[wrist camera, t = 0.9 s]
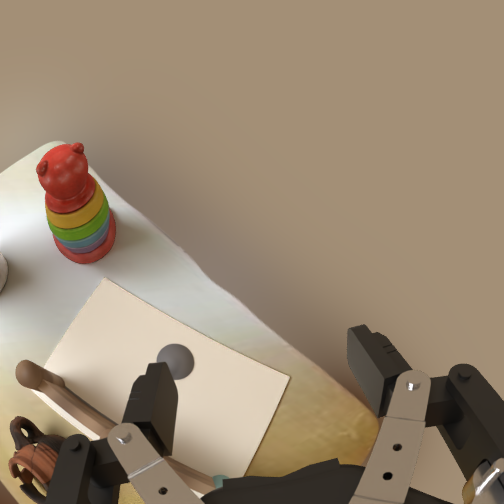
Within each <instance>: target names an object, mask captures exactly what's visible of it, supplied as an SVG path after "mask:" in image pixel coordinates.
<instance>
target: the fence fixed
mask: <svg viewBox="0 0 504 504" xmlns="http://www.w3.org/2000/svg"><path fill="white" fill-rule="evenodd" d="M16 378H17V380H18V382H19V383H20V384H21V385H22V386H24V387H27V388H30V389H33V390H36V391H39V392H42V393H44V394H45V395H47V396H48V397H49V398H50V399H51V400H52V401H54V402H55V403H56V404H57V405H58V406H60V407H61V408H62V409H63V410H65V411H66V412H67V413H68V414H70V415H71V416H72V417H73V418H75V419H76V420H77V421H79V422H80V423H81V424H83V425H84V426H85V427H87V428H88V429H90V430H91V431H92V432H94V433H95V434H97V435H98V436H100V439H103V438H106V437H108V434H109V432H110V431H111V430H112V428H114V427H115V426H116V425H115V424H113V423H112V422H110V421H109V420H107V419H106V418H104V417H103V416H101V415H100V414H98V413H97V412H96V411H94V410H93V409H91V408H90V407H89V406H87V405H86V404H85V403H83V402H82V401H81V400H79V399H78V398H77V397H75V396H74V395H73V394H72V393H70V392H69V391H68V390H66V389H65V382H64V380H63V379H62V378H61V377H60V376H58V375H56V374H54V373H52V372H50V371H48V370H46V369H44V368H42V367H40V366H38V365H36V364H35V363H33V362H31V361H29V360H23V361H21V362H20V363H19V364H18V365H17V367H16Z"/></svg>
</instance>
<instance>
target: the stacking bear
mask: <svg viewBox="0 0 504 504" xmlns="http://www.w3.org/2000/svg"><path fill="white" fill-rule="evenodd" d="M83 151H84V146H83V144H81V143H74V144H73V145H70V144H63V145H59V146H57V147H54V148H53V149H51V150H50V151H48V152H47V153H46V154H45V155H44V156H43V158H42V159H41V161H40V163H39V164H38V165H37V168H36V172H37V174H38V178H39V181H40V184H41V185H42V187H43V188H44V190H45V191H46V194H45V208H46V214H47V220H48V224H49V227H50V229H51V231H52V233H53V238H54V241H55V244H56V246H57V247H58V249H59V250H60V252H61V253H62V254H63V255H64V256H66V257H67V258H68V259H70V260H72V261H74V262H77V263H91V262H94V261H97V260H99V259H100V258H102V257H103V256H104V255H106V254H107V253H108V251H109V250H110V249H111V247H112V245H113V243H114V239H115V233H116V226H115V220H114V217H113V214H112V212H111V210H110V208H109V205H108V201H107V198H106V196H105V194H104V192H103V190H102V189H101V187H100V185H99V184H98V182H97V181H96V180H95V179H94V178H93V177H92V176H91V175H90V174H89V173H88V163H87V159H86V156H85V155H84V153H83Z"/></svg>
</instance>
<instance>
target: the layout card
mask: <svg viewBox="0 0 504 504" xmlns="http://www.w3.org/2000/svg"><path fill="white" fill-rule="evenodd" d="M157 362H166V363H167V365H168V367H169V370H170V372H171V375H172V377H173V379H174V382H175V384H176V387H177V390H178V406H177V414H176V423H175V432H174V441H173V450H172V456H168V457H170V458H172V459H174V460H176V461H178V462H180V463H182V464H184V465H186V466H188V467H190V468H192V469H195V470H197V471H199V472H201V473H203V474H206V475H208V476H210V477H213V476H216V475H225V476H227V477H229V478H239V477H243V475H244V474H245V472H246V470H247V468H248V466H249V464H250V462H251V460H252V458H253V456H254V454H255V452H256V450H257V448H258V446H259V444H260V442H261V440H262V438H263V436H264V433H265V431H266V429H267V427H268V425H269V423H270V421H271V419H272V416H273V414H274V412H275V410H276V408H277V405H278V403H279V401H280V399H281V396H282V394H283V392H284V390H285V387H286V385H287V383H288V380H289V378H290V377H289V376H287V375H285V374H283V373H280V372H278V371H276V370H274V369H272V368H269V367H267V366H265V365H263V364H261V363H259V362H257V361H254V360H252V359H250V358H248V357H246V356H244V355H242V354H240V353H238V352H236V351H234V350H232V349H230V348H228V347H226V346H224V345H222V344H220V343H218V342H216V341H214V340H212V339H210V338H208V337H206V336H205V335H203V334H201V333H199V332H197V331H195V330H193V329H191V328H190V327H188V326H186V325H184V324H182V323H180V322H179V321H177V320H175V319H173V318H172V317H170V316H168V315H166V314H164V313H163V312H161V311H159V310H158V309H156V308H154V307H152V306H151V305H149V304H147V303H146V302H144V301H142V300H141V299H139V298H137V297H136V296H134V295H132V294H131V293H129V292H127V291H126V290H124V289H123V288H121V287H119V286H118V285H116V284H115V283H113V282H111V281H110V280H108V279H107V278H105V277H104V278H103V280H102V281H101V282H100V284H99V285H98V286H97V288H96V289H95V291H94V292H93V293H92V295H91V296H90V298H89V299H88V300H87V302H86V303H85V305H84V306H83V307H82V309H81V310H80V312H79V313H78V315H77V316H76V318H75V319H74V320H73V322H72V323H71V325H70V326H69V328H68V329H67V331H66V332H65V334H64V335H63V337H62V338H61V340H60V342H59V343H58V345H57V346H56V348H55V349H54V351H53V353H52V354H51V356H50V357H49V359H48V361H47V362H46V364H45V366H44V367H43V368H44V369H46V370H48V371H50V372H52V373H54V374H56V375H58V376H60V377H61V378H62V379H63V380H64V382H65V389H66V390H68V391H69V392H70V393H72V394H73V395H74V396H75V397H77V398H78V399H79V400H81V401H82V402H83V403H85V404H86V405H87V406H89V407H90V408H91V409H93V410H94V411H96V412H97V413H98V414H100V415H101V416H103V417H104V418H106V419H107V420H109V421H110V422H112V423H113V424H115V425H116V426H117V425H119V424H121V422H122V419H123V415H124V412H125V409H126V405H127V402H128V400H129V395H130V393H131V389H132V385H133V383H134V382H135V380H136V379H137V378H138V377H139V376H140V375H145V374H146V370H147V367H148V364H149V363H157ZM31 390H32V391H33V392H34V393H35V394H36V395H37V396H38V397H40V398H41V399H42V400H43V401H44V402H45V403H46V404H48V405H49V406H50V407H51V408H52V409H53V410H55V411H56V412H57V413H58V414H59V415H61V416H62V417H63V418H64V419H66V420H67V421H68V422H69V423H71V424H72V425H73V426H75V427H76V428H77V429H79V430H80V431H81V432H83V433H84V434H85V435H87V436H88V437H90V438H91V439H92V440H99V439H100V436H98V435H97V434H95V433H94V432H92V431H91V430H90V429H88V428H87V427H85V426H84V425H83V424H81V423H80V422H79V421H77V420H76V419H75V418H73V417H72V416H71V415H70V414H68V413H67V412H66V411H65V410H63V409H62V408H61V407H60V406H58V405H57V404H56V403H55V402H54V401H52V400H51V399H50V398H49V397H48V396H47V395H45V394H44V393H42V392H39V391H36V390H33V389H31ZM191 490H192V489H191ZM192 491H193V492H194V493H195V494H196V495H197V496H198V497H199V498H201V497H202V496H204V495H203V494H201V493H199V492H196V491H194V490H192Z"/></svg>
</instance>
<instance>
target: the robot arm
mask: <svg viewBox="0 0 504 504" xmlns="http://www.w3.org/2000/svg"><path fill="white" fill-rule="evenodd" d="M7 275H8V265H7V261H6V259H5V258H4V256H3V255H2V254H1V253H0V291H1V290H2V288H3V287H4V284H5V282H6V279H7ZM347 334H348V336H347V359H348V364H349V367H350V369H351V370H352V372H353V374H354V376H355V378H356V380H357V381H358V383H359V385H360V387H361V388H362V390H363V392H364V394H365V396H366V398H367V399H368V401H369V403H370V405H371V407H372V408H373V410H374V412H375V414H376V416H377V418H380V417H383V416H385V415H386V416H385V418H384V421H383V424H382V426H381V429H380V432H379V435H378V438H377V440H376V443H375V446H374V448H373V451H372V454H371V456H370V459H369V461H368V464H367V466H366V467H363V466H358V465H349V464H342V465H340V464H339V461H338V458H335V459H331V460H328V461H324V462H320V463H316V464H312V465H309V466H306V467H304V468H302V469H300V470H297V471H295V472H293V473H291V474H288V475H286V476H283V477H260V476H247V477H239V478H229V479H222V482H223V487H219V488H217V489H215V490H212V491H210V492H209V493H207V494H205V495H204V496H202V497H201V498H199V497H198V496H197V495H196V494H195V493H194V492H193V491H192V490H191V489H190V488H189V487H188V486H187V485H186V484H185V483H184V482H183V480H182V479H181V478H180V477H179V476H178V475H177V474H176V473H175V471H174V470H173V469H172V468H171V467H170V466H169V465H168V463H167V462H166V461H165V460H164V459H163V456H172V450H173V441H174V432H175V423H176V414H177V406H178V390H177V387H176V384H175V382H174V379H173V377H172V375H171V372H170V370H169V367H168V365H167V363H166V362H157V363H149V364H148V367H147V370H146V374H145V375H140V376H139V377H138V378H137V379H136V380H135V382H134V383H133V385H132V389H131V393H130V395H129V400H128V402H127V405H126V409H125V412H124V415H123V419H122V422H121V424H119V425H117V426H115V427H114V428H112V430H111V431H110V432H109V434H108V437H106V438H103V439H99V440H94V441H89V439H88V438H87V437H86V436H84V435H81V434H75V435H71V436H69V437H68V438H67V439H65V440H64V442H63V443H62V445H61V448H60V451H59V455H58V458H57V461H56V464H55V467H54V471H53V474H52V478H51V481H50V485H49V488H48V492H47V496H46V499H45V503H44V504H118V499H119V491H120V484H124V483H128V482H131V484H132V485H133V487H134V488H135V490H136V491H137V492H138V494H139V495H140V497H141V498H142V499H143V501H144V502H145V504H453V503H450V502H447V501H444V500H441V499H438V498H436V497H434V496H431V495H428V494H426V493H423V492H420V491H418V490H416V489H413V488H411V487H409V485H410V482H411V479H412V476H413V472H414V469H415V465H416V462H417V457H418V454H419V450H420V446H421V442H422V437H423V432H424V428H425V427H431V426H436V427H437V428H438V430H439V432H440V433H441V435H442V437H443V439H444V440H445V442H446V444H447V446H448V448H449V449H450V451H451V453H452V455H453V456H454V458H455V460H456V462H457V464H458V465H459V467H460V469H461V471H462V473H463V475H464V477H465V478H466V481H467V482H466V483H465V485H464V487H463V490H462V496H463V500H464V504H504V401H503V400H502V399H501V397H500V396H499V395H498V394H497V392H496V391H495V390H494V389H493V388H492V386H491V385H490V384H489V383H488V382H487V380H486V379H485V378H484V377H483V376H482V375H481V374H480V372H479V371H478V370H477V369H476V368H475V367H473V366H471V365H469V364H458V365H455V366H454V367H452V368H451V369H450V371H449V375H448V376H443V377H435V378H429V376H428V375H427V374H425V373H424V372H422V371H418V370H413V369H412V368H411V367H410V366H409V364H408V363H407V362H406V361H405V359H404V358H403V357H402V356H401V354H400V353H399V352H398V351H397V349H396V348H395V347H394V346H393V345H392V343H391V342H390V341H389V339H388V338H387V337H386V336H384V335H382V334H380V333H378V332H376V333H371V331H370V330H369V329H368V327H367V326H366V325H364V324H363V325H360V326H356V327H352V328H349V329H348V333H347Z"/></svg>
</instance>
